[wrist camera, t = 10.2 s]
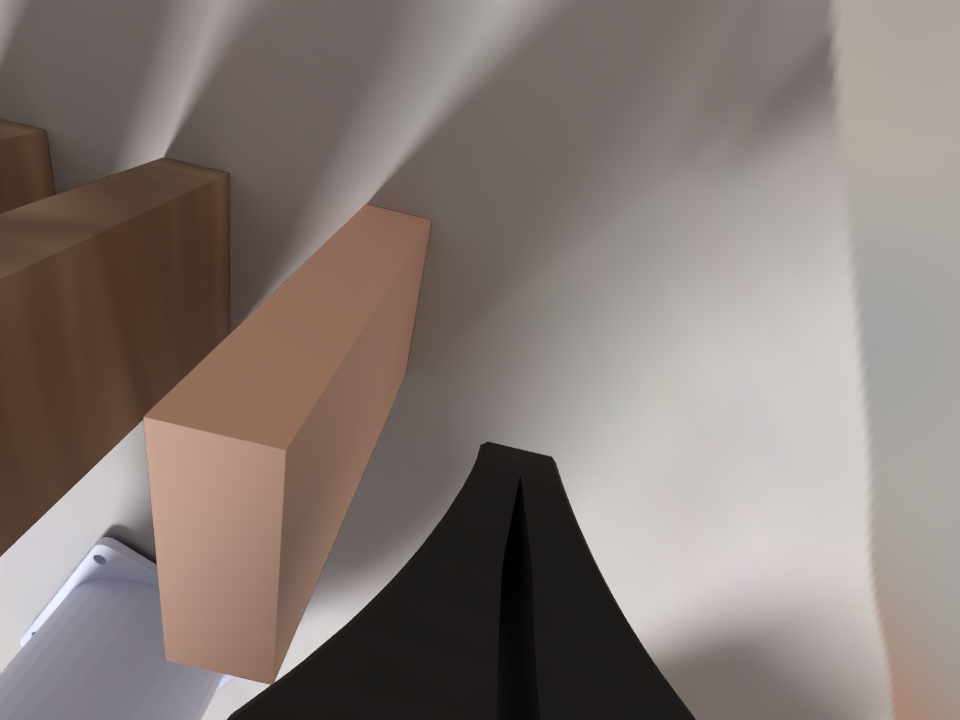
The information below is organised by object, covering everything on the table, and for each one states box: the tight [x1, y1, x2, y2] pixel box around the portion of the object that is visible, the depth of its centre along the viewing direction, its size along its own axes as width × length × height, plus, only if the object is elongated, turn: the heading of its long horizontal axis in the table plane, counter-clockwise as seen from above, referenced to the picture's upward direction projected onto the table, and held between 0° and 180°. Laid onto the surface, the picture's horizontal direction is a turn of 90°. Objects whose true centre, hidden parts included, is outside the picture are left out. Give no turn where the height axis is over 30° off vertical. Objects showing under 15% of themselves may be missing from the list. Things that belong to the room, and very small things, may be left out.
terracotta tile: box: [143, 204, 432, 685], centre depth 13 cm, size 2×5×10 cm, turn 169°
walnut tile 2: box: [0, 158, 230, 557], centre depth 13 cm, size 2×5×10 cm, turn 168°
